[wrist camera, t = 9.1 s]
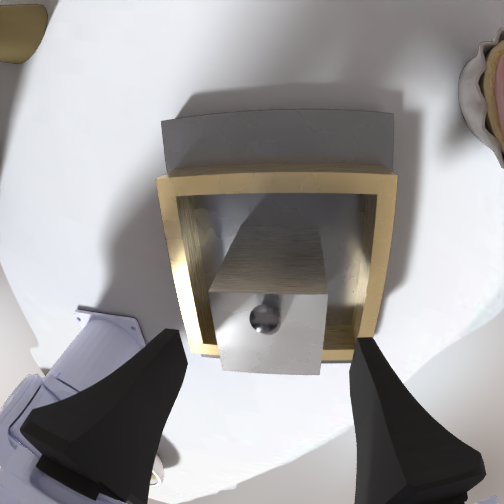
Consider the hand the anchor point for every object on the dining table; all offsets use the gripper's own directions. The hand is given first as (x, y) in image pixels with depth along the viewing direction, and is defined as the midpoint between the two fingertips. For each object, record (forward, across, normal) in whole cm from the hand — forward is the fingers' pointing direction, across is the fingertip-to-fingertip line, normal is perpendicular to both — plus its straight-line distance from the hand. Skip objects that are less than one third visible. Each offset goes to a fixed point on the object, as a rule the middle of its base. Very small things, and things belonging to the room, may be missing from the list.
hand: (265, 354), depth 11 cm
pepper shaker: (+10, +21, -21) cm, 31 cm away
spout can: (+8, 0, 0) cm, 8 cm away
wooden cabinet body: (+10, 0, 0) cm, 10 cm away
